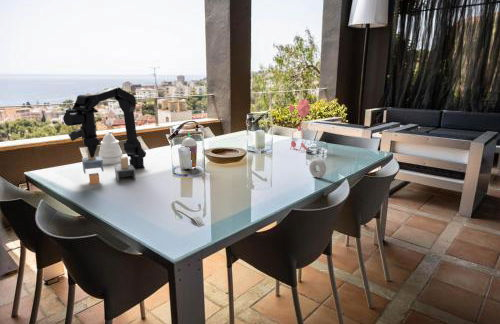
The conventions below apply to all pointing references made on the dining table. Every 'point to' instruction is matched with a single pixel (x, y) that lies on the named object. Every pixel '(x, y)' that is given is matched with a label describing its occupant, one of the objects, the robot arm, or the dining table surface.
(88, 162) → the blue-grey and tan block
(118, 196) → the dining table surface
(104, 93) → the robot arm
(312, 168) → the donut
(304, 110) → the figurine
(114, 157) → the honey pot
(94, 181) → the letter cube
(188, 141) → the smoothie
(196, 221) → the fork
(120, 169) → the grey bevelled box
